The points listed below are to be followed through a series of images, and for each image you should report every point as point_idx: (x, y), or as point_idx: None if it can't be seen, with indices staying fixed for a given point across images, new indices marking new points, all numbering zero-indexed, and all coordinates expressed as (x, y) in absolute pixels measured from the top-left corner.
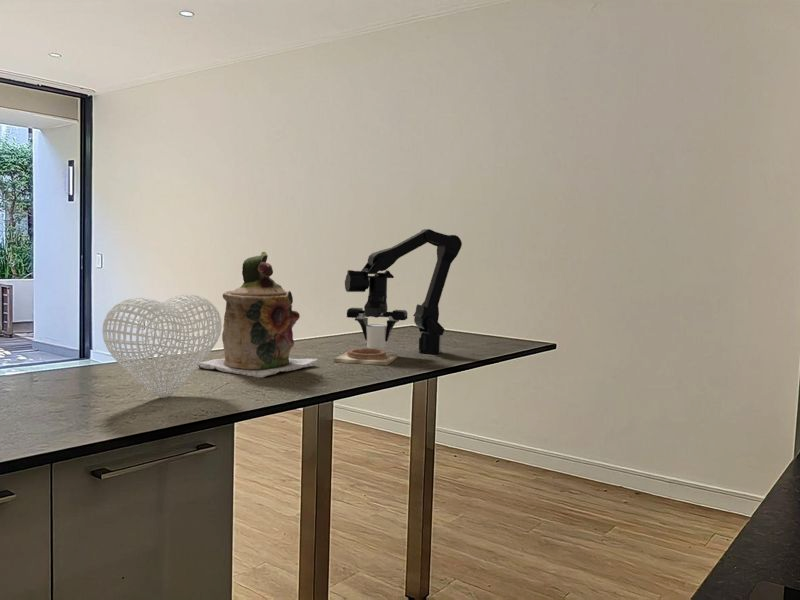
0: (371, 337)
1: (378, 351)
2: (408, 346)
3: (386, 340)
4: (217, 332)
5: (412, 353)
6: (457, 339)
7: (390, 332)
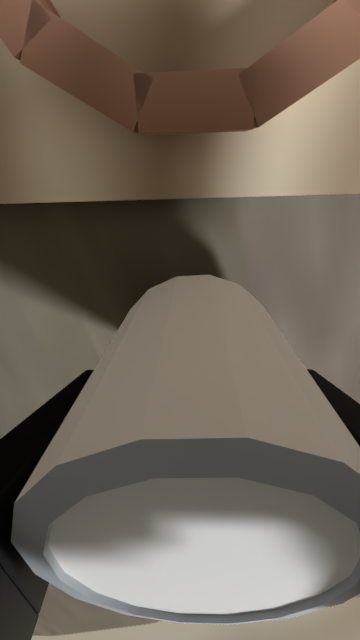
0: (240, 326)
1: (73, 27)
2: None
3: (85, 372)
4: None
5: (3, 405)
6: (37, 633)
7: None
